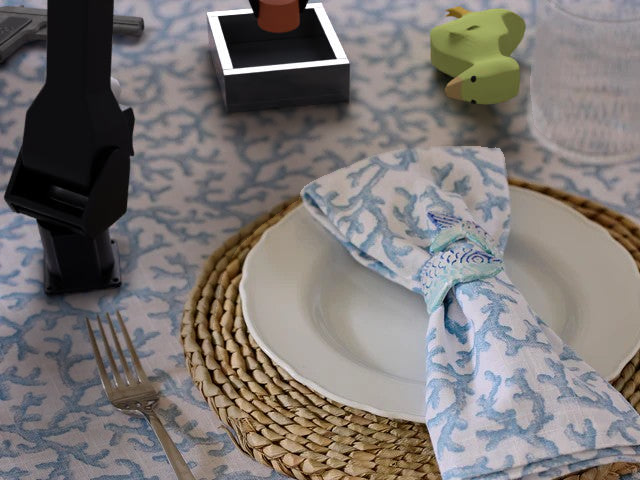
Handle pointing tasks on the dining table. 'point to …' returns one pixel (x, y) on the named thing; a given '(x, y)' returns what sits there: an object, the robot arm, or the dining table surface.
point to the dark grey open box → (277, 61)
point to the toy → (479, 54)
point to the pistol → (31, 24)
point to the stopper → (278, 15)
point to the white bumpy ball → (115, 88)
